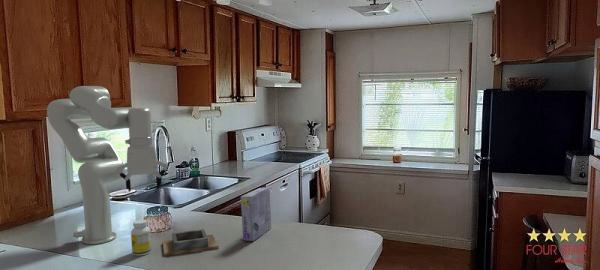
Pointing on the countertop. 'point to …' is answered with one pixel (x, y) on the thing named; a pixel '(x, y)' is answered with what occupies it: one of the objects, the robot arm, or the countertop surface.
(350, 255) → the countertop surface
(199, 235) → the collar board
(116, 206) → the countertop surface
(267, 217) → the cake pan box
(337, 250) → the countertop surface
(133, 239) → the pill bottle
